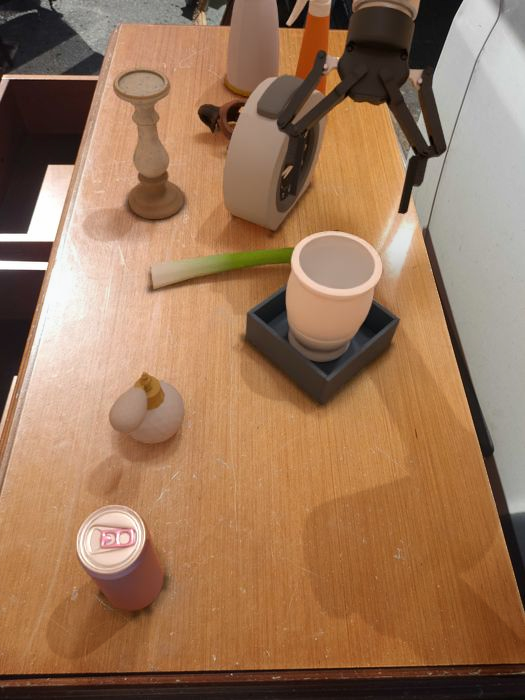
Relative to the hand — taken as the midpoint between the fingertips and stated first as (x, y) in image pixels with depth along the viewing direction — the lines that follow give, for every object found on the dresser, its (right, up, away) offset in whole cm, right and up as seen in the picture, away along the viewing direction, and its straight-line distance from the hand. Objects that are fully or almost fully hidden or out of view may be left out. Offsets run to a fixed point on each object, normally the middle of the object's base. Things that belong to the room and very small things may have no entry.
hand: (347, 203), depth 68 cm
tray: (-3, -17, +8) cm, 19 cm away
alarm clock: (-9, +7, +25) cm, 27 cm away
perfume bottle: (-23, -28, -1) cm, 37 cm away
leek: (-12, -7, +15) cm, 20 cm away
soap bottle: (-12, +36, +45) cm, 59 cm away
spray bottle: (-3, +26, +39) cm, 47 cm away
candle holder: (-28, +6, +23) cm, 37 cm away
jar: (-3, -16, +8) cm, 19 cm away
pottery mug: (-16, +21, +34) cm, 43 cm away
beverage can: (-24, -42, -10) cm, 49 cm away
